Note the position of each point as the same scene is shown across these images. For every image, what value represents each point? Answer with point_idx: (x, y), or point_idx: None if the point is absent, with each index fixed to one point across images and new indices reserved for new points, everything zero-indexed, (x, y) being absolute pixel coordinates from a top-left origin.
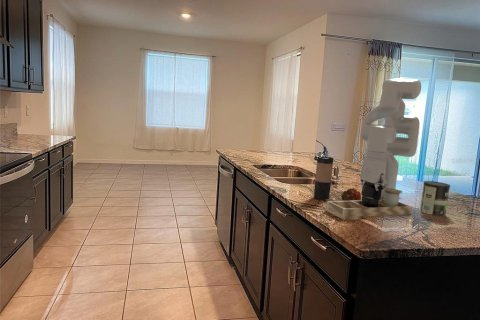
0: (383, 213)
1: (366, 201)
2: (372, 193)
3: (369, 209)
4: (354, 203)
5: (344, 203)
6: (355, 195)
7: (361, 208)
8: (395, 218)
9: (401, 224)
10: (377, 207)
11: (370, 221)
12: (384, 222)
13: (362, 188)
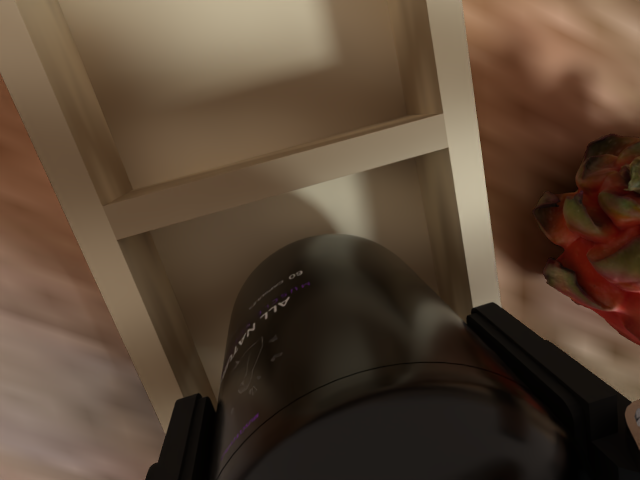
0: None
1: (262, 285)
2: (213, 445)
3: (87, 245)
4: (355, 136)
5: (413, 6)
6: (626, 261)
7: (29, 111)
8: None
9: (2, 465)
10: (166, 375)
11: (7, 195)
12: (19, 334)
13: (560, 361)
